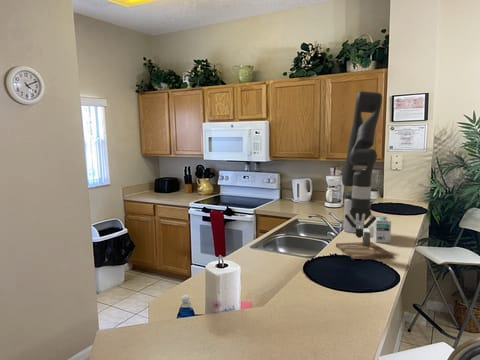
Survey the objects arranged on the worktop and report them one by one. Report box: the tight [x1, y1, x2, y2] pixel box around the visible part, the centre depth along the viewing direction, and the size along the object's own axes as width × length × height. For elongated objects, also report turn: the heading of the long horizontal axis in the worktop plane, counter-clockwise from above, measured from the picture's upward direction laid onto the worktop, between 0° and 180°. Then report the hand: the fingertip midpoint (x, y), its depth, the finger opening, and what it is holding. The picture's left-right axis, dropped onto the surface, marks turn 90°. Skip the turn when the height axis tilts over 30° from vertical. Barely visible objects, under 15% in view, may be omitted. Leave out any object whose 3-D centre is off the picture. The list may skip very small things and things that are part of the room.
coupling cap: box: [361, 225, 374, 246], centre depth 149 cm, size 17×6×5 cm, turn 161°
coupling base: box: [335, 237, 394, 260], centre depth 151 cm, size 18×17×6 cm
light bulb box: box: [372, 215, 392, 244], centre depth 168 cm, size 11×7×11 cm, turn 168°
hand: (359, 237), depth 146 cm, fingers closed
